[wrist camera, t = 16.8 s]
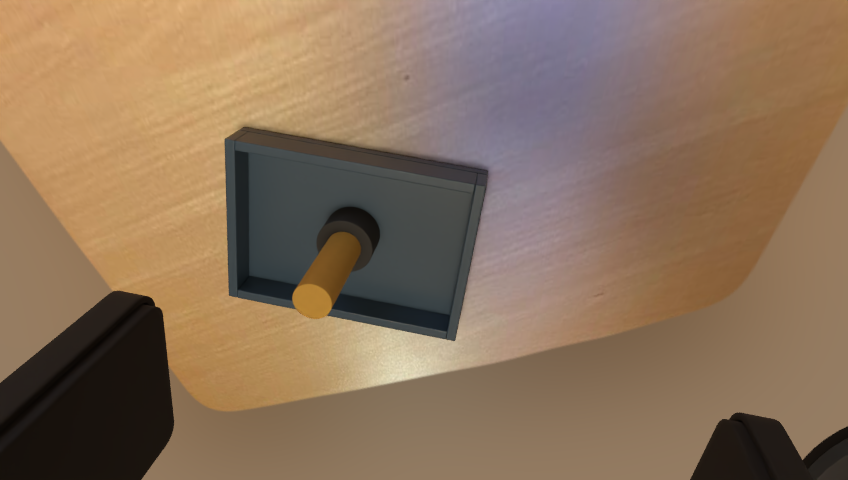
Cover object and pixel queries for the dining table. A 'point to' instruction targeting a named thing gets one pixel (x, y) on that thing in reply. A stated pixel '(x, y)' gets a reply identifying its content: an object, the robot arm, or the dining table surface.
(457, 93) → the dining table surface
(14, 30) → the dining table surface
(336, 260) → the plug
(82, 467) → the robot arm
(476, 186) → the basin tray
